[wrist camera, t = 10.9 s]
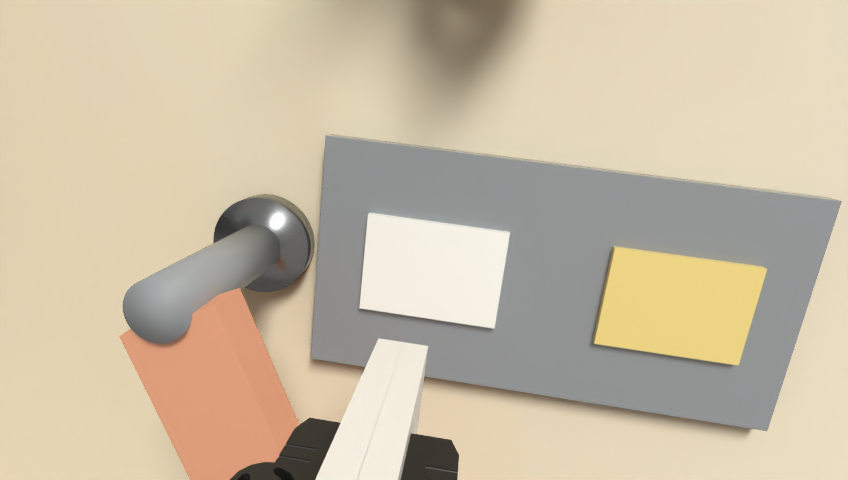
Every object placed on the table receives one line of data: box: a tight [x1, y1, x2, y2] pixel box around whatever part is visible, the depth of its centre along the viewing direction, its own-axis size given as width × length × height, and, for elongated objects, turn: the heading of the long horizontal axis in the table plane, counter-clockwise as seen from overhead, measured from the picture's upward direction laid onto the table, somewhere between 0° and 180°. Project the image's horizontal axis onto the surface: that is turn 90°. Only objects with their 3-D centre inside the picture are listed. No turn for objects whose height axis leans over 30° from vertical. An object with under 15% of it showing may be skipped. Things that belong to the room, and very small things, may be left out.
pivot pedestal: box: [214, 194, 314, 292], centre depth 28 cm, size 5×5×1 cm
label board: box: [311, 135, 842, 431], centre depth 27 cm, size 24×12×1 cm, turn 83°
